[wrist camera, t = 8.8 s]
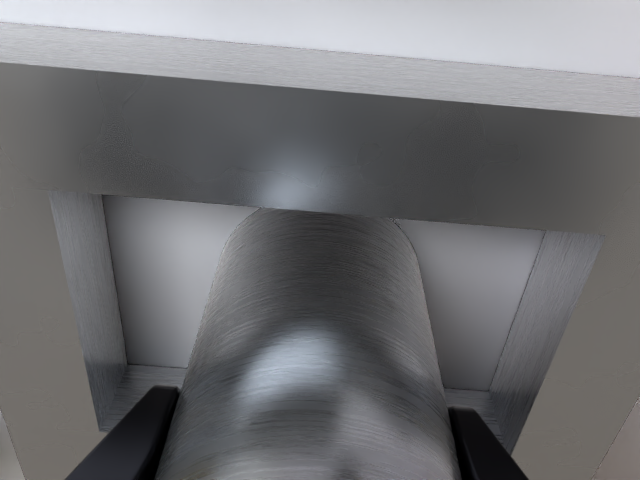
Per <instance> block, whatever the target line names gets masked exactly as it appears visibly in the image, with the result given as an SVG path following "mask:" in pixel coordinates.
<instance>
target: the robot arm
mask: <svg viewBox="0 0 640 480" xmlns="http://www.w3.org/2000/svg"><path fill="white" fill-rule="evenodd" d="M179 395H180V388H179V387H178V386H176V385H164V384H156V385H154V386H152V387H151V388H150V389H149V390H148V391H147V392H146V394H145V395H144V396H143V397H142V398H141V399H140V400H139V401H138V402H137V403H136V404H135V405H134V406H133V407H132V408H131V409H130V411H129V412H128V413H127V414H126V415H125V416H124V417H123V418H122V419H121V420H120V421H119V422H118V423H117V424H116V425H115V426H114V427H113V429H112V430H111V431H110V432H109V433H108V434H107V435H106V436H105V437H104V438H103V439H102V440H101V441H100V442H99V443H98V444H97V445H96V447H95V448H94V449H93V450H92V451H91V452H90V453H89V454H88V455H87V456H86V457H85V458H84V459H83V460H82V461H81V462H80V463H79V465H78V466H77V467H76V468H75V469H74V470H73V471H72V472H71V473H70V474H69V475H68V476H67V477H66V478H65V479H64V480H154V478H155V475H156V472H157V468H158V465H159V462H160V458H161V455H162V452H163V448H164V445H165V442H166V438H167V435H168V432H169V428H170V425H171V421H172V418H173V415H174V411H175V408H176V405H177V401H178V398H179ZM448 413H449V418H450V423H451V428H452V433H453V438H454V443H455V448H456V453H457V458H458V463H459V468H460V473H461V478H462V480H529V479H528V478H527V476H526V475H525V474H524V472H523V471H522V470H521V468H520V467H519V466H518V464H517V463H516V462H515V461H514V459H513V458H512V457H511V455H510V454H509V453H508V451H507V450H506V449H505V448H504V446H503V445H502V444H501V442H500V441H499V440H498V438H497V437H496V436H495V435H494V433H493V432H492V431H491V429H490V428H489V427H488V425H487V424H486V423H485V421H484V420H483V419H482V418H481V416H480V415H479V414H478V412H477V411H476V410H475V409H473V408H471V407H462V406H450V407H449V408H448Z"/></svg>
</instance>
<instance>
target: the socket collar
mask: <svg viewBox="0 0 640 480" xmlns="http://www.w3.org/2000/svg"><path fill="white" fill-rule="evenodd" d="M101 194H104V195H117V196H129V197H141V198H153V199H166V200H178V201H190V202H202V203H215V204H227V205H239V206H252V207H264V208H276V209H288V210H301V211H313V212H325V213H338V214H350V215H362V216H374V217H387V218H399V219H411V220H424V221H436V222H448V223H460V224H473V225H485V226H497V227H510V228H522V229H534V230H546V232H545V235H544V238H543V241H542V244H541V246H540V249H539V252H538V255H537V258H536V260H535V263H534V266H533V269H532V272H531V274H530V277H529V280H528V283H527V286H526V288H525V291H524V294H523V297H522V299H521V302H520V305H519V308H518V311H517V313H516V316H515V319H514V322H513V325H512V327H511V330H510V333H509V336H508V339H507V341H506V344H505V347H504V350H503V353H502V355H501V358H500V361H499V364H498V367H497V369H496V372H495V375H494V378H493V381H492V383H491V386H490V389H489V391H477V390H463V389H450V388H443V389H444V394H445V399H446V404H447V408H449V407H450V406H462V407H471V408H473V409H475V410H476V411H477V412H478V414H479V415H480V416H481V418H482V419H483V420H484V421H485V423H486V424H487V425H488V427H489V428H490V429H491V431H492V432H493V433H494V435H495V436H496V437H497V438H498V440H499V441H500V442H501V444H502V445H503V446H504V448H505V449H506V450H507V451H508V453H509V454H510V455H511V457H512V458H513V459H514V461H515V462H516V463H517V464H518V466H519V467H520V468H521V470H522V471H523V472H524V474H525V475H526V476H527V478H528V479H529V480H591V479H592V477H593V476H594V474H595V472H596V470H597V469H598V467H599V465H600V464H601V462H602V460H603V458H604V457H605V455H606V453H607V451H608V450H609V448H610V446H611V444H612V443H613V441H614V439H615V438H616V436H617V434H618V432H619V431H620V429H621V427H622V425H623V424H624V422H625V420H626V419H627V417H628V415H629V413H630V412H631V410H632V408H633V406H634V405H635V403H636V401H637V399H638V398H639V396H640V78H630V77H619V76H607V75H596V74H584V73H573V72H562V71H550V70H539V69H527V68H516V67H505V66H493V65H482V64H470V63H459V62H448V61H436V60H425V59H414V58H402V57H391V56H379V55H368V54H357V53H345V52H334V51H322V50H311V49H300V48H288V47H277V46H265V45H254V44H243V43H231V42H220V41H208V40H197V39H186V38H174V37H163V36H152V35H140V34H129V33H117V32H106V31H95V30H83V29H72V28H60V27H49V26H38V25H26V24H15V23H3V22H0V408H1V411H2V414H3V417H4V420H5V423H6V426H7V428H8V431H9V434H10V437H11V440H12V443H13V446H14V448H15V451H16V454H17V457H18V460H19V463H20V465H21V468H22V471H23V474H24V477H25V480H64V479H65V478H66V477H67V476H68V475H69V474H70V473H71V472H72V471H73V470H74V469H75V468H76V467H77V466H78V465H79V463H80V462H81V461H82V460H83V459H84V458H85V457H86V456H87V455H88V454H89V453H90V452H91V451H92V450H93V449H94V448H95V447H96V445H97V444H98V443H99V442H100V441H101V440H102V439H103V438H104V437H105V436H106V435H107V434H108V433H109V432H110V431H111V430H112V429H113V427H114V426H115V425H116V424H117V423H118V422H119V421H120V420H121V419H122V418H123V417H124V416H125V415H126V414H127V413H128V412H129V411H130V409H131V408H132V407H133V406H134V405H135V404H136V403H137V402H138V401H139V400H140V399H141V398H142V397H143V396H144V395H145V394H146V392H147V391H148V390H149V389H150V388H151V387H152V386H154V385H156V384H164V385H176V386H178V387H179V388H180V391H181V388H182V385H183V381H184V378H185V374H186V371H187V369H183V368H169V367H156V366H142V365H129V364H127V357H126V351H125V344H124V338H123V331H122V325H121V318H120V312H119V305H118V299H117V292H116V286H115V279H114V273H113V266H112V260H111V253H110V247H109V240H108V234H107V227H106V221H105V214H104V208H103V201H102V195H101Z"/></svg>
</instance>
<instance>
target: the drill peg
mask: <svg viewBox="0 0 640 480" xmlns="http://www.w3.org/2000/svg"><path fill="white" fill-rule="evenodd" d="M154 480H462V478H461V473H460V468H459V463H458V458H457V453H456V448H455V443H454V438H453V433H452V428H451V423H450V418H449V413H448V408H447V404H446V399H445V394H444V389H443V384H442V379H441V374H440V369H439V364H438V359H437V354H436V349H435V344H434V339H433V334H432V329H431V324H430V319H429V314H428V309H427V304H426V299H425V294H424V289H423V284H422V279H421V274H420V269H419V264H418V259H417V256H416V254H415V251H414V248H413V246H412V245H411V243H410V241H409V239H408V238H407V236H406V235H405V234H404V233H403V231H402V230H401V229H400V228H399V227H398V226H397V225H396V224H395V223H394V222H393V221H392V220H391V219H389V218H387V217H374V216H362V215H350V214H338V213H325V212H313V211H301V210H288V209H276V208H264V207H263V208H261V209H259V210H257V211H256V212H254V213H253V214H251V215H250V216H248V217H247V218H246V219H245V220H244V221H243V222H242V223H241V224H239V225H238V227H237V228H236V229H235V230H234V231H233V233H232V234H231V235H230V237H229V239H228V240H227V242H226V244H225V246H224V249H223V251H222V254H221V257H220V260H219V264H218V267H217V270H216V274H215V277H214V281H213V284H212V287H211V291H210V294H209V297H208V301H207V304H206V307H205V311H204V314H203V317H202V321H201V324H200V328H199V331H198V334H197V338H196V341H195V344H194V348H193V351H192V354H191V358H190V361H189V364H188V368H187V371H186V374H185V378H184V381H183V385H182V388H181V391H180V395H179V398H178V401H177V405H176V408H175V411H174V415H173V418H172V421H171V425H170V428H169V432H168V435H167V438H166V442H165V445H164V448H163V452H162V455H161V458H160V462H159V465H158V468H157V472H156V475H155V478H154Z"/></svg>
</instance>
